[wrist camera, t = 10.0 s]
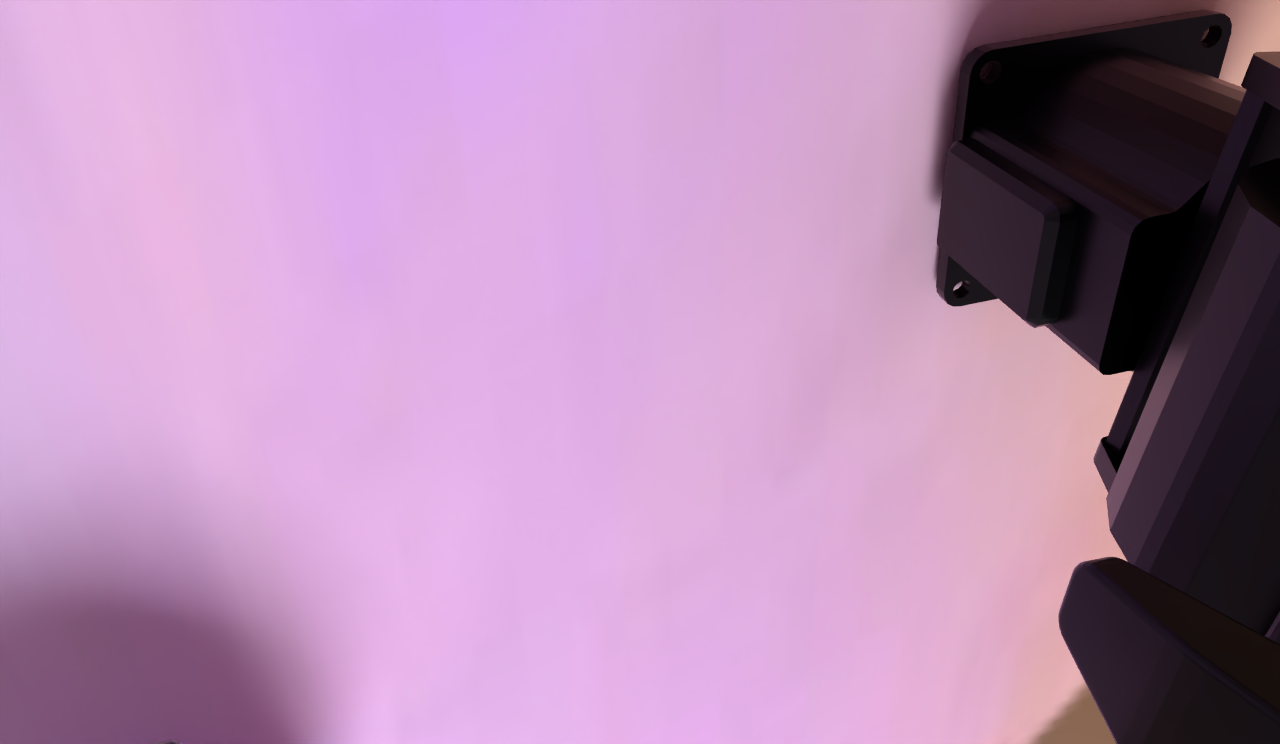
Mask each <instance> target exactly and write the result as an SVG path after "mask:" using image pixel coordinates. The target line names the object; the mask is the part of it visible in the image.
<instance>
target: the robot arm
mask: <svg viewBox="0 0 1280 744" xmlns="http://www.w3.org/2000/svg"><path fill="white" fill-rule="evenodd" d="M1208 28H1209V32H1208V34H1207V36H1206V37H1205V38H1204V39H1203V40H1202V41H1201V38H1202V36H1203V34H1204V32H1205V31H1206V30H1207V29H1208ZM1231 28H1232V24H1231V21H1230V18H1229V17H1228V16H1226V15H1225V14H1222V13H1219V12H1215V11H1211V10H1201V11H1195V12H1189V13H1183V14H1176V15H1170V16H1164V17H1157V18H1151V19H1145V20H1139V21H1132V22H1126V23H1120V24H1113V25H1107V26H1101V27H1095V28H1088V29H1082V30H1076V31H1070V32H1063V33H1057V34H1051V35H1044V36H1038V37H1032V38H1026V39H1019V40H1013V41H1007V42H1000V43H994V44H988V45H983V46H980V47H978V48H975V49H974V50H973V51H972V52H971V53H969V54H968V56H967V57H966V59H965V60H964V62H963V64H962V68H961V72H960V81H959V89H958V98H957V107H956V116H955V125H954V134H953V142H952V145H951V147H950V148H949V150H948V152H947V155H946V164H945V173H944V182H943V191H942V200H941V209H940V218H939V227H938V236H937V245H938V246H939V247H940V248H941V249H940V257H939V266H938V275H937V284H936V288H937V293H938V294H939V296H940V297H941V298H942V299H943V300H944V301H945V302H946V303H947V304H949V305H951V306H963V305H968V304H973V303H978V302H983V301H988V300H993V299H998V298H999V299H1000V300H1001V301H1002V302H1003V303H1004V304H1006V305H1007V306H1008V307H1009V308H1010V309H1011V310H1013V311H1014V312H1015V313H1016V314H1017V315H1018V316H1019V317H1021V318H1022V319H1023V320H1024V321H1025V322H1026V323H1028V324H1029V325H1030V326H1032V327H1034V328H1036V327H1041V326H1046V327H1047V328H1049V329H1050V330H1051V331H1052V332H1053V333H1054V334H1056V335H1057V336H1058V337H1059V338H1060V339H1062V340H1063V341H1064V342H1065V343H1066V344H1068V345H1069V346H1070V347H1071V348H1072V349H1073V350H1075V351H1076V352H1077V353H1078V354H1079V355H1081V356H1082V357H1083V358H1084V359H1085V360H1087V361H1088V362H1089V363H1090V364H1091V365H1092V366H1094V367H1095V368H1096V369H1097V370H1098V371H1100V372H1101V373H1102V374H1103V375H1111V374H1116V373H1121V372H1125V371H1132V372H1133V375H1132V377H1131V380H1130V382H1129V385H1128V387H1127V390H1126V392H1125V395H1124V397H1123V400H1122V402H1121V405H1120V408H1119V410H1118V413H1117V415H1116V418H1115V420H1114V423H1113V425H1112V428H1111V430H1110V433H1109V435H1108V436H1106V437H1103V438H1102V439H1101V441H1100V444H1099V446H1098V449H1097V451H1096V454H1095V456H1094V463H1095V465H1096V467H1097V470H1098V472H1099V474H1100V476H1101V478H1102V480H1103V482H1104V485H1105V487H1106V489H1107V491H1108V496H1107V498H1106V499H1107V508H1108V517H1109V526H1110V531H1111V533H1112V535H1113V537H1114V538H1115V540H1116V542H1117V544H1118V545H1119V547H1120V549H1121V550H1122V552H1123V554H1124V556H1125V557H1126V559H1127V561H1128V562H1127V561H1125V560H1122V559H1120V558H1116V557H1105V558H1100V559H1095V560H1090V561H1085V562H1082V563H1080V564H1078V565H1077V566H1076V567H1075V569H1074V571H1073V573H1072V576H1071V579H1070V582H1069V585H1068V587H1067V590H1066V593H1065V596H1064V599H1063V602H1062V605H1061V608H1060V611H1059V627H1060V630H1061V634H1062V636H1063V639H1064V641H1065V643H1066V645H1067V647H1068V649H1069V651H1070V653H1071V655H1072V657H1073V659H1074V661H1075V663H1076V665H1077V666H1078V668H1079V670H1080V672H1081V674H1082V676H1083V678H1084V680H1085V682H1086V684H1087V686H1088V688H1089V690H1090V692H1091V694H1092V696H1093V698H1094V700H1095V702H1096V704H1097V706H1098V708H1099V710H1100V712H1101V714H1102V716H1103V718H1104V720H1105V722H1106V724H1107V726H1108V728H1109V730H1110V732H1111V734H1112V736H1113V738H1114V740H1115V742H1116V744H1280V52H1256V53H1254V54H1253V57H1252V59H1251V62H1250V64H1249V67H1248V69H1247V72H1246V74H1245V77H1244V79H1243V82H1242V84H1241V86H1242V87H1243V88H1242V87H1240V86H1237V85H1234V84H1231V83H1229V82H1226V81H1223V80H1220V79H1218V78H1219V75H1220V71H1221V67H1222V64H1223V60H1224V57H1225V53H1226V49H1227V46H1228V42H1229V38H1230V35H1231ZM990 61H991V64H992V67H991V70H990V72H989V73H988V75H987V76H986V77H984V78H982V79H980V72H981V70H982V68H983V67H984V65H985V64H986V63H988V62H990ZM961 281H963V283H962V285H961V286H960V287H959V288H958V289H956V290H954V291H953V289H954V286H955V285H956V284H957V283H959V282H961ZM154 744H182V743H180V742H178V741H176V740H169V741H164V742H159V743H154Z"/></svg>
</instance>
